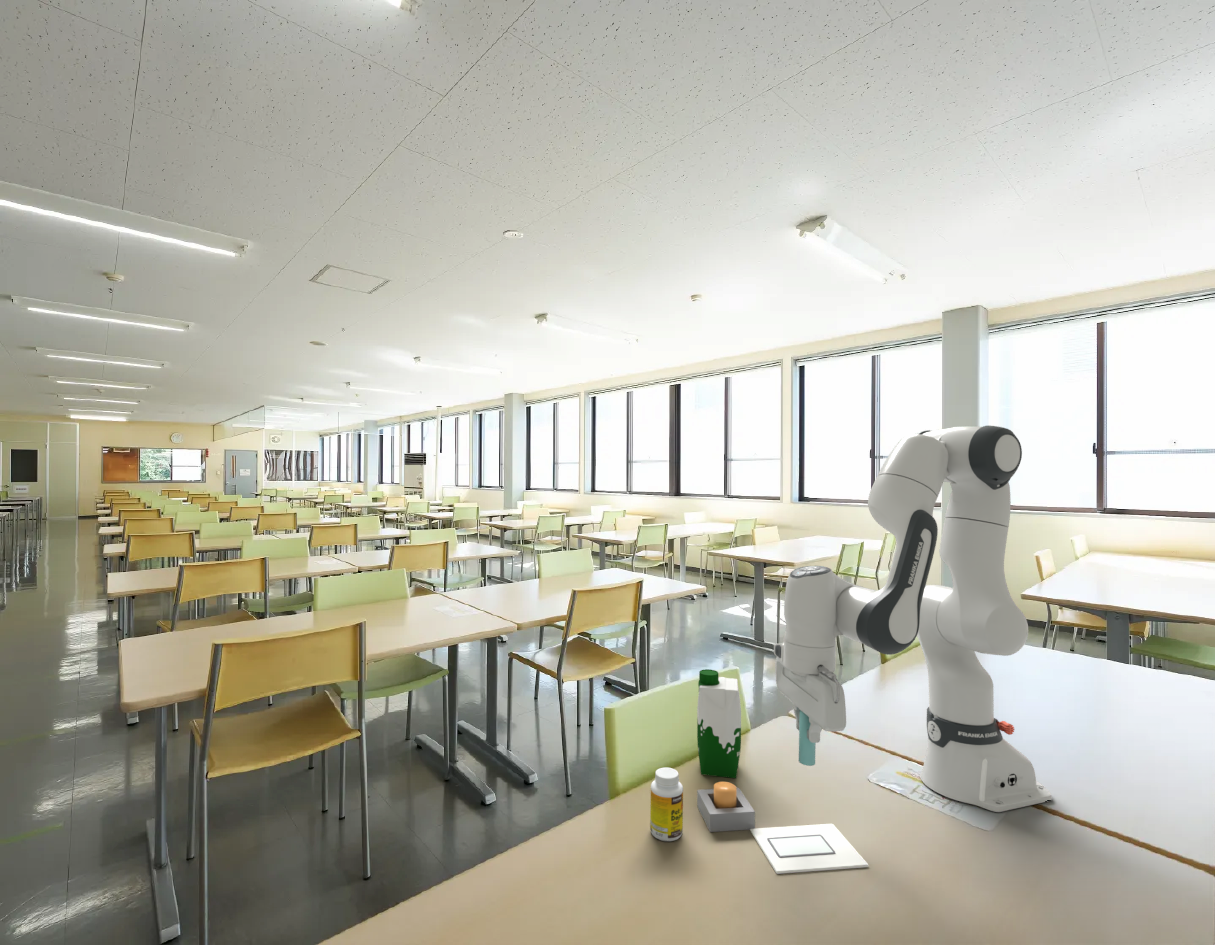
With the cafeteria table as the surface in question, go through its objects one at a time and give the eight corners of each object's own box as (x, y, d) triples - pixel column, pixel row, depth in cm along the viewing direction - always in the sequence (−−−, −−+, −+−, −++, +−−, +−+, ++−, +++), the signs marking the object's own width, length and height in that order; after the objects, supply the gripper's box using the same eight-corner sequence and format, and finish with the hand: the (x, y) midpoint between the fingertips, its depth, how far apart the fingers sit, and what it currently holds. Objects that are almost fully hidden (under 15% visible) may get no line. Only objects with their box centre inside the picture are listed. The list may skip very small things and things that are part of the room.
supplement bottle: (672, 847, 94) (673, 784, 95) (644, 835, 98) (644, 774, 98) (688, 831, 99) (689, 770, 99) (660, 820, 102) (661, 761, 102)
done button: (732, 799, 105) (732, 781, 105) (739, 812, 101) (739, 792, 101) (710, 801, 105) (711, 782, 105) (717, 813, 101) (717, 793, 101)
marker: (810, 758, 104) (811, 701, 104) (818, 765, 101) (819, 706, 101) (795, 758, 104) (797, 701, 104) (802, 765, 101) (803, 707, 101)
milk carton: (698, 756, 126) (698, 665, 127) (740, 761, 124) (740, 668, 125) (696, 776, 118) (696, 678, 118) (741, 781, 116) (741, 681, 116)
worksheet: (832, 825, 101) (832, 822, 101) (868, 867, 90) (868, 863, 90) (750, 831, 99) (750, 828, 99) (776, 873, 88) (776, 870, 88)
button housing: (738, 803, 107) (738, 787, 108) (754, 829, 100) (754, 811, 100) (697, 806, 106) (697, 789, 107) (709, 831, 99) (710, 814, 99)
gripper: (857, 676, 93) (855, 763, 92) (800, 642, 113) (799, 713, 113) (820, 676, 92) (818, 764, 92) (770, 642, 112) (768, 714, 112)
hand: (807, 735), depth 102 cm, fingers closed on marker, 3 cm apart
